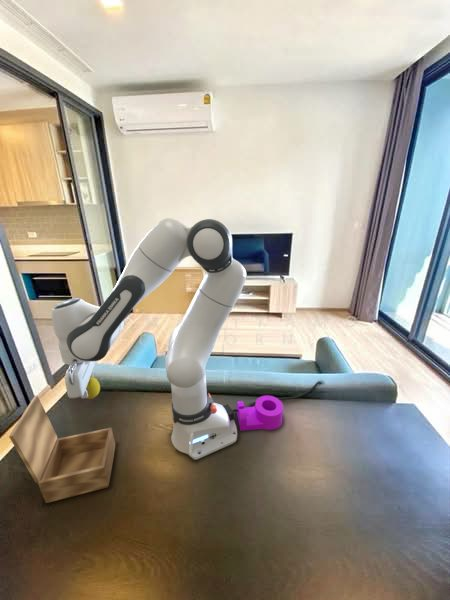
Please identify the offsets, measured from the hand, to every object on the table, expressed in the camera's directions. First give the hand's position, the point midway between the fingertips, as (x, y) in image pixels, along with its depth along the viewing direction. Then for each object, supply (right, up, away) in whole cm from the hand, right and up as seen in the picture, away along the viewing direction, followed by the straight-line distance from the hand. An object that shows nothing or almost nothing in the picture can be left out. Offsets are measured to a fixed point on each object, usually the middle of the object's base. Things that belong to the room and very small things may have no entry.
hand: (88, 389), depth 79 cm
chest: (+2, -23, -5) cm, 23 cm away
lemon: (+1, -4, +2) cm, 4 cm away
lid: (-6, -8, -12) cm, 16 cm away
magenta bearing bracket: (+56, -16, +13) cm, 60 cm away
